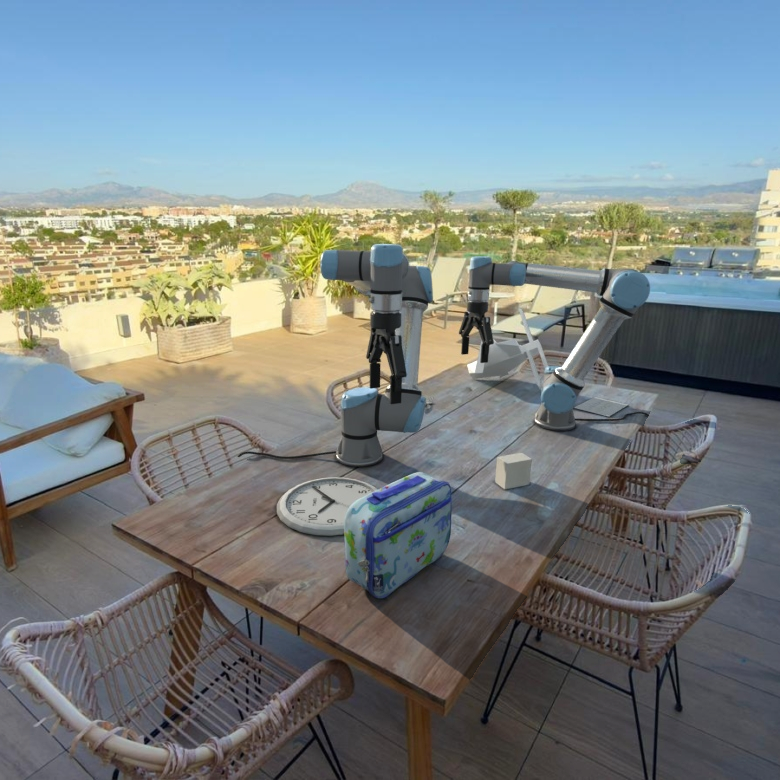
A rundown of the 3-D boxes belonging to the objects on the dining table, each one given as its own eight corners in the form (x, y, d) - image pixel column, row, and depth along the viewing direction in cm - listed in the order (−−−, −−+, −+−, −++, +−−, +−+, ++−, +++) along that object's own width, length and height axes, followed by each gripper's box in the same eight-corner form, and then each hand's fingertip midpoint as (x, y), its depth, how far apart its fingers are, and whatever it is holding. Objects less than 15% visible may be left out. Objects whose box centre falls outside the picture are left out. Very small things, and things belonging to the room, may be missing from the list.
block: (495, 482, 158) (497, 456, 155) (519, 477, 161) (521, 452, 158) (504, 489, 153) (507, 463, 151) (529, 484, 156) (531, 459, 154)
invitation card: (608, 416, 214) (573, 407, 224) (608, 416, 214) (573, 408, 224) (628, 404, 229) (594, 396, 238) (628, 405, 229) (594, 397, 238)
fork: (417, 411, 216) (418, 406, 216) (428, 400, 231) (428, 395, 230) (423, 412, 215) (424, 407, 215) (434, 400, 230) (434, 396, 229)
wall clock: (392, 527, 129) (268, 531, 127) (391, 533, 130) (269, 537, 127) (383, 473, 158) (282, 475, 155) (383, 478, 158) (282, 480, 156)
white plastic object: (488, 421, 263) (468, 398, 238) (469, 347, 285) (449, 320, 260) (560, 397, 251) (547, 370, 226) (534, 322, 273) (519, 290, 248)
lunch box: (372, 611, 103) (373, 518, 97) (338, 585, 111) (336, 497, 104) (455, 557, 121) (460, 475, 115) (420, 537, 128) (424, 459, 122)
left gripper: (354, 304, 135) (354, 383, 141) (392, 320, 113) (390, 412, 119) (380, 303, 138) (380, 380, 144) (423, 318, 116) (419, 408, 122)
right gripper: (451, 296, 197) (448, 351, 204) (488, 306, 176) (483, 367, 182) (469, 296, 200) (465, 350, 207) (506, 305, 178) (501, 365, 185)
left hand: (384, 395), depth 132 cm, fingers open, 13 cm apart
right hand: (474, 358), depth 194 cm, fingers open, 13 cm apart
